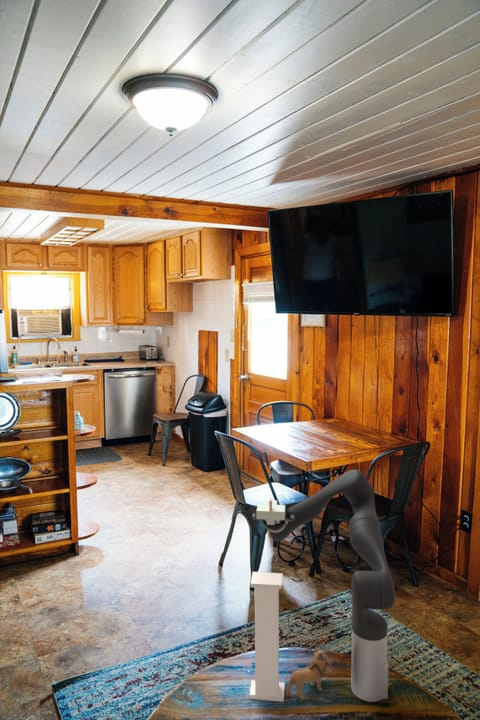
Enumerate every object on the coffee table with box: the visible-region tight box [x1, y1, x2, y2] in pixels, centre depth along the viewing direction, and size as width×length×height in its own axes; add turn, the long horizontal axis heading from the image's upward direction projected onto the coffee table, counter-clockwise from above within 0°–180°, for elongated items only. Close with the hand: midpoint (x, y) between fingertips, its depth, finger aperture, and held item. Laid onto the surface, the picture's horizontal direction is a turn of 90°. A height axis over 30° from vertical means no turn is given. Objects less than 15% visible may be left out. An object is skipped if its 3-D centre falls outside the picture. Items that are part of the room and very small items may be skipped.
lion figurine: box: [285, 649, 328, 703], centre depth 146 cm, size 15×5×9 cm, turn 129°
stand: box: [249, 571, 286, 703], centre depth 144 cm, size 9×6×32 cm, turn 83°
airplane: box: [255, 497, 286, 525], centre depth 162 cm, size 8×14×7 cm, turn 173°
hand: (271, 512), depth 160 cm, fingers closed on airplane
